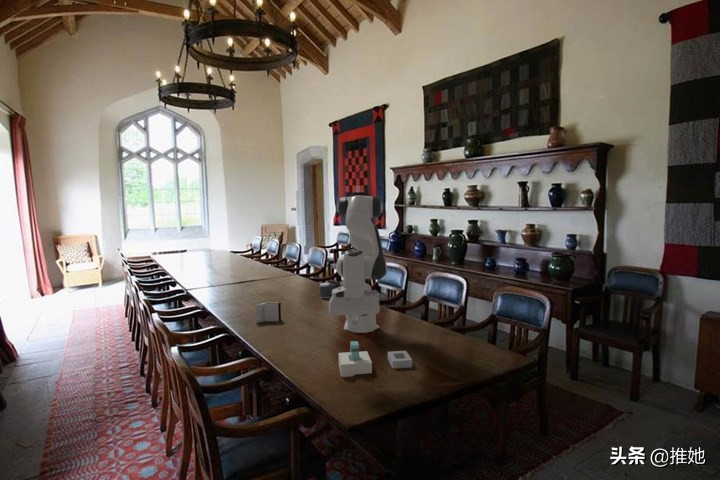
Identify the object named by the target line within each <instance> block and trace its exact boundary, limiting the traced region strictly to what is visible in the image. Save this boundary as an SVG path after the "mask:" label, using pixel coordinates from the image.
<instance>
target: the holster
mask: <svg viewBox="0 0 720 480" xmlns="http://www.w3.org/2000/svg"><path fill="white" fill-rule="evenodd" d="M387 360H388V363H389V364H390V366H391V368H392V369H404V368H405V369H406V368H409V369H410V368H413V359H412V358H411V356H410V354H409V353H408V352H407V350H397V351H394V350H393V351H387Z"/></svg>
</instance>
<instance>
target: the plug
mask: <svg viewBox="0 0 720 480" xmlns="http://www.w3.org/2000/svg"><path fill="white" fill-rule="evenodd" d="M349 342H350V343H349V352H350V361H356V360H359V352H360V344H359V341H358V340H357V341H355V340H354V341H349Z"/></svg>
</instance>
